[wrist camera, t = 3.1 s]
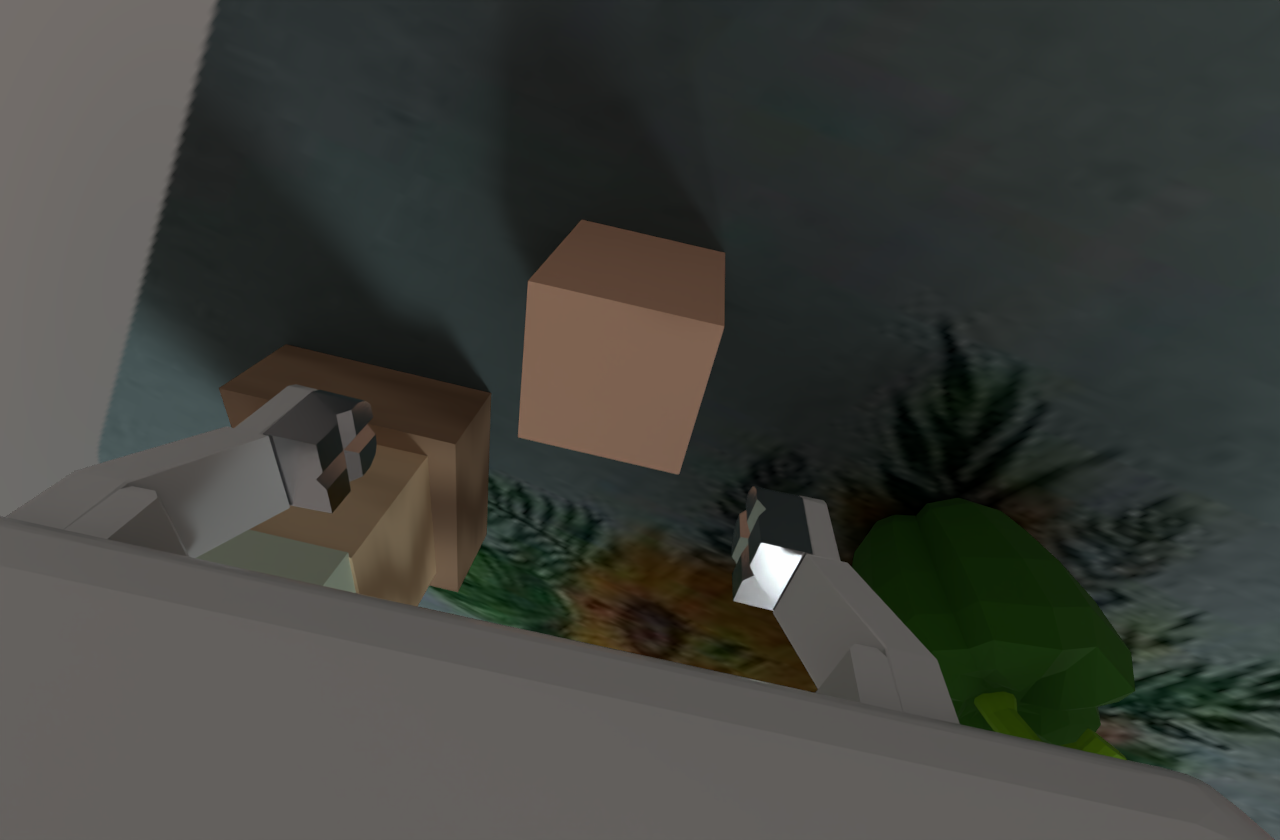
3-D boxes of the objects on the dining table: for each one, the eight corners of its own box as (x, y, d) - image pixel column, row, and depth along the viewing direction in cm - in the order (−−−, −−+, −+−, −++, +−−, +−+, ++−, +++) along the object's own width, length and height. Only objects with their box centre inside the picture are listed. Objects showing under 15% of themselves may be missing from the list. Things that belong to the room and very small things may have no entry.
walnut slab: (488, 529, 28) (457, 591, 25) (323, 490, 28) (270, 547, 25) (494, 388, 23) (455, 444, 20) (291, 340, 23) (219, 388, 20)
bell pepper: (870, 616, 27) (930, 854, 19) (803, 512, 24) (842, 747, 16) (1056, 572, 24) (1225, 838, 16) (1008, 442, 21) (1192, 696, 12)
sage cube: (373, 673, 20) (283, 831, 16) (192, 631, 20) (56, 778, 16) (347, 552, 16) (218, 723, 12) (122, 500, 16) (-85, 652, 12)
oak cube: (436, 572, 24) (377, 677, 20) (287, 538, 24) (199, 636, 20) (427, 456, 20) (351, 557, 16) (249, 415, 20) (128, 507, 16)
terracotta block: (689, 376, 21) (679, 474, 16) (566, 347, 21) (517, 437, 16) (725, 252, 18) (724, 326, 13) (581, 219, 18) (528, 280, 13)
